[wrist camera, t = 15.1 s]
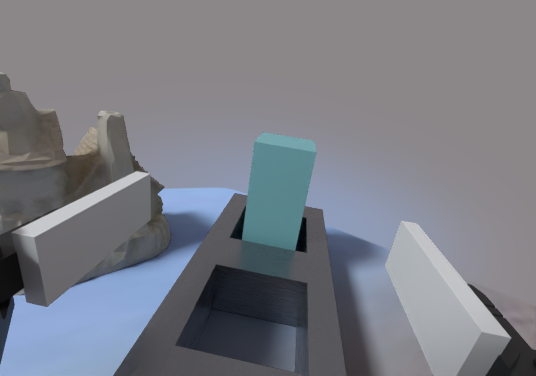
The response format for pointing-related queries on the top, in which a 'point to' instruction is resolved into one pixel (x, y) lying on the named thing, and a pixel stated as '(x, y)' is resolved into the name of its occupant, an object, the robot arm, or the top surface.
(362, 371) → the top surface
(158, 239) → the ceramic cottage
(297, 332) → the grey block with holes
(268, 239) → the teal peg
